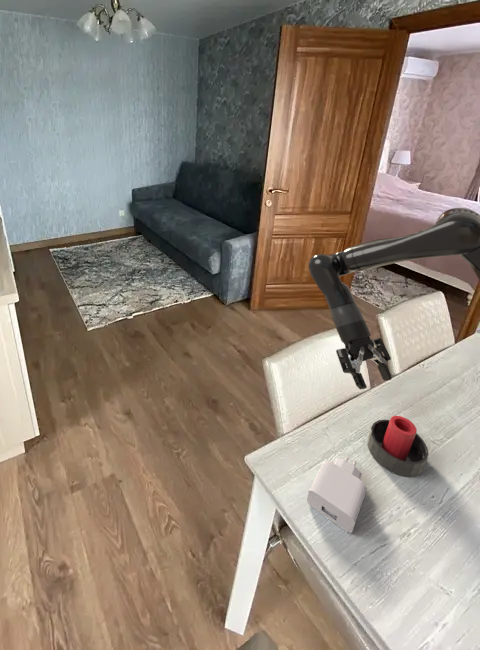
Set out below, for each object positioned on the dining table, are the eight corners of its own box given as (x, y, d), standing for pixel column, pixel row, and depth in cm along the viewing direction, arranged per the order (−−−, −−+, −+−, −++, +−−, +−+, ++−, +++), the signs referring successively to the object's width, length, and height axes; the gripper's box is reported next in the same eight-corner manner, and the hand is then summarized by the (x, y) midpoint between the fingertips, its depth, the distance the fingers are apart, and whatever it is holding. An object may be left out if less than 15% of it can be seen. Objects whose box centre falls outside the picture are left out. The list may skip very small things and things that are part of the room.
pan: (409, 435, 90) (414, 423, 89) (433, 481, 79) (438, 468, 78) (360, 428, 92) (364, 416, 91) (377, 472, 81) (381, 459, 80)
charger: (370, 479, 80) (351, 535, 69) (329, 454, 85) (306, 503, 75) (375, 465, 78) (355, 520, 67) (333, 440, 84) (309, 488, 73)
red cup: (401, 443, 88) (410, 417, 84) (410, 463, 83) (421, 436, 79) (378, 439, 89) (386, 414, 85) (386, 459, 84) (395, 432, 80)
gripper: (338, 324, 88) (365, 391, 83) (379, 314, 93) (407, 376, 87) (320, 330, 95) (344, 392, 89) (359, 320, 100) (384, 378, 94)
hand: (375, 384), depth 88 cm, fingers open, 8 cm apart
